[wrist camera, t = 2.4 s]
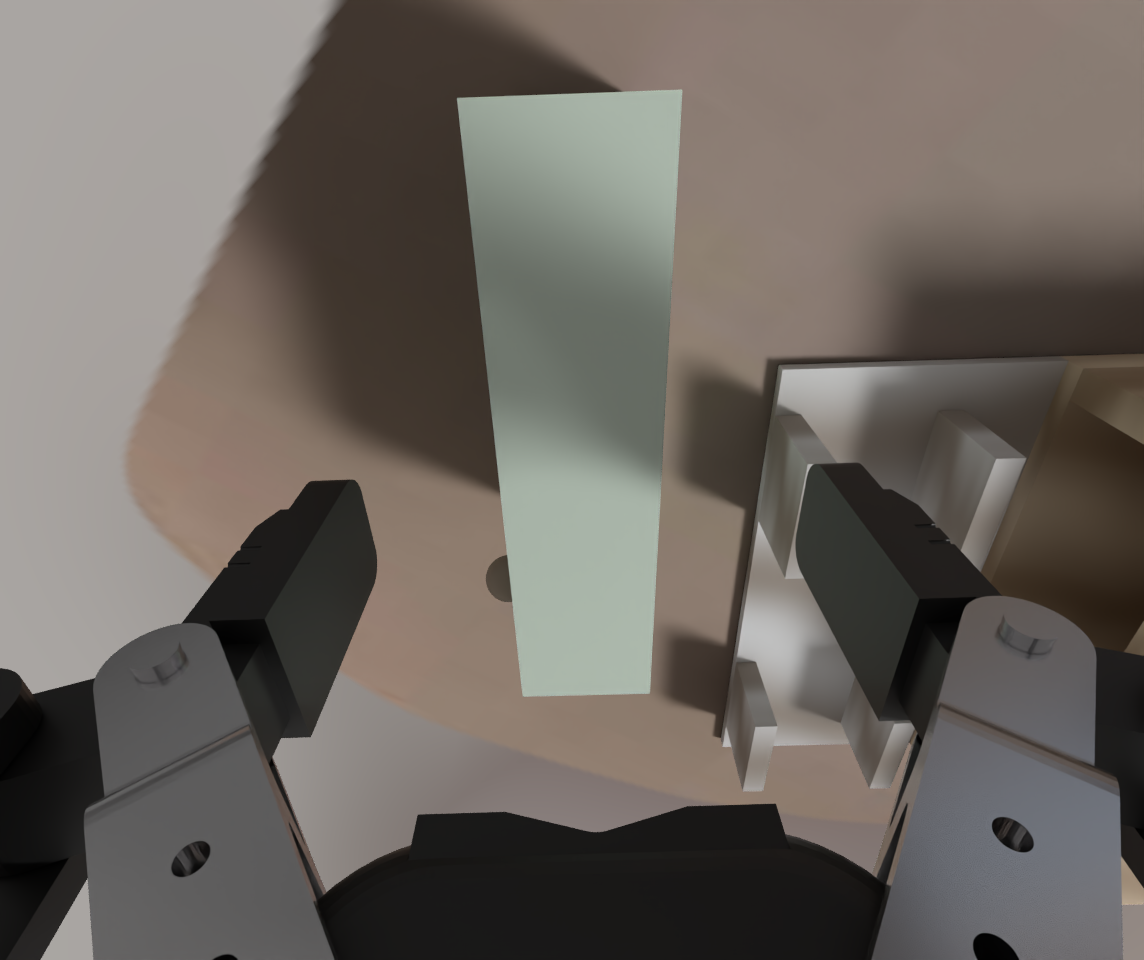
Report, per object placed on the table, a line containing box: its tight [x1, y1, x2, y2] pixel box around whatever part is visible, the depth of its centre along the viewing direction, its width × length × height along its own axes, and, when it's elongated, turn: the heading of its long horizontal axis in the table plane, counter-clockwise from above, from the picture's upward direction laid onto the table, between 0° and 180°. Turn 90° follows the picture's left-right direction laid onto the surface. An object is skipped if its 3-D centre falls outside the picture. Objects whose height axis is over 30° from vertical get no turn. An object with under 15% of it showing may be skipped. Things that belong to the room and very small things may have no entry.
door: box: [457, 90, 682, 697], centre depth 15 cm, size 12×4×8 cm, turn 2°
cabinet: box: [721, 354, 1144, 905], centre depth 20 cm, size 18×20×7 cm
